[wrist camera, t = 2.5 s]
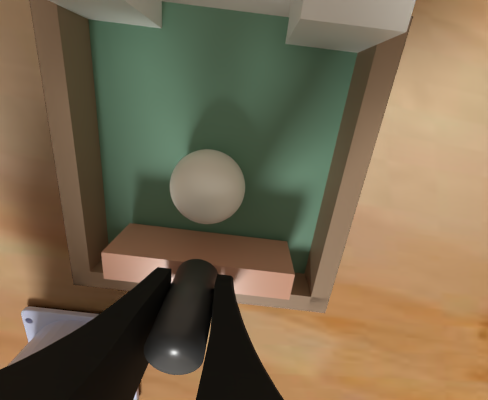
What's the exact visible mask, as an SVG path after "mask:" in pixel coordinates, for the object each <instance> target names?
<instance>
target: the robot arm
mask: <svg viewBox="0 0 488 400" xmlns="http://www.w3.org/2000/svg"><path fill="white" fill-rule="evenodd" d="M171 270H172V269H169V268H161V267H157V268H156V269H155V270H153V271H152V272H151V273H150V274H149V275H148V276H147V277H145V278H144V279H143V280H142V281H141V282H140V283H139V284H137V285H136V286H135V287H134V288H133V289H131V290H130V291H129V292H128V293H127V294H125V295H124V296H123V297H122V298H120V299H119V300H118V301H117V302H115V303H114V304H113V305H111V306H110V307H109V308H107V309H106V310H105V311H103V312H102V313H101V314H94V313H85V312H76V311H67V310H58V309H49V308H40V307H31V306H29V307H26V308H25V309H24V310H22V312H21V315H22V319H23V323H24V327H25V331H26V334H27V338H28V342H29V343H28V344H27V345H26V346H25V347H24V348H23V349H22V350H21V352H20V353H19V354H18V355H17V356H16V357H15V358H14V359H13V360H12V361H11V362H10V364H9V365H8V366H7V367H5V368H3V369H0V400H139V389H138V386H139V384H140V381H141V379H142V377H143V374H144V372H145V370H146V368H147V365H148V363H149V362H148V361H147V360H146V358H145V355H144V345H145V343H146V340H147V338H148V336H149V333H150V331H151V329H152V327H153V324H154V322H155V320H156V318H157V315H158V313H159V311H160V308H161V306H162V304H163V302H164V299H165V297H166V295H167V292H168V290H169V288H170V286H171ZM196 400H284V399H283V398H282V396H281V395H280V393H279V392H278V390H277V389H276V387H275V385H274V384H273V382H272V380H271V378H270V377H269V375H268V373H267V372H266V370H265V368H264V367H263V365H262V363H261V361H260V359H259V357H258V355H257V353H256V351H255V349H254V347H253V345H252V342H251V340H250V338H249V335H248V333H247V331H246V328H245V325H244V323H243V320H242V317H241V314H240V311H239V307H238V304H237V300H236V296H235V291H234V283H233V277H232V276H230V275H221V274H217V277H216V281H215V286H214V297H213V308H212V319H211V331H210V337H209V342H208V347H207V352H206V356H205V361H204V366H203V370H202V375H201V379H200V384H199V388H198V393H197V397H196Z"/></svg>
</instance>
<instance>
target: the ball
mask: <svg viewBox="0 0 488 400" xmlns="http://www.w3.org/2000/svg"><path fill="white" fill-rule="evenodd" d="M170 194H171V198H172V201H173V203H174V205H175V206H176V208H177V209H178V210H179V212H180V213H181V214H182V215H183V216H185V217H186V218H188V219H189V220H191V221H194V222H197V223H201V224H215V223H219V222H222V221H224V220H226V219H227V218H229V217H231V216H232V215H233V214H234V213H235V212H236V211H237V210H238V208H239V207H240V205H241V203H242V201H243V198H244V194H245V180H244V176H243V173H242V171H241V169H240V167H239V166H238V164H237V163H236V162H235V161H234V160H233V159H232V158H231V157H230V156H228V155H226V154H225V153H223V152H220V151H217V150H211V149H203V150H197V151H194V152H192V153H190V154H188V155H186V156H185V157H184V158H182V159H181V160H180V161H179V163H178V164H177V165H176V166H175V168H174V170H173V172H172V175H171V179H170Z"/></svg>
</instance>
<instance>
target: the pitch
mask: <svg viewBox="0 0 488 400" xmlns="http://www.w3.org/2000/svg"><path fill="white" fill-rule="evenodd" d="M29 1H30V8H31V14H32V21H33V27H34V33H35V40H36V46H37V52H38V59H39V65H40V72H41V78H42V84H43V91H44V97H45V104H46V110H47V116H48V123H49V129H50V136H51V142H52V148H53V155H54V161H55V168H56V174H57V180H58V187H59V193H60V200H61V206H62V212H63V219H64V225H65V232H66V238H67V244H68V251H69V257H70V264H71V270H72V276H73V283H74V285H82V286H91V287H100V288H109V289H117V290H126V291H130V290H131V289H133V288H134V287H135V286H136V285H137V284H139V283H136V282H127V281H119V280H110V279H104V275H103V265H102V256H101V252H102V251H103V250H104V249H105V248H106V247H107V246H108V245H109V244H110V243H111V242H112V241H113V240H114V239H115V238H116V237H117V236H118V235H119V234H120V233H121V232H122V231H123V230H124V229H125V227H126V226H127V225H128V224H129V223H133V224H142V225H150V226H159V227H167V228H176V229H185V230H193V231H202V232H210V233H219V234H228V235H236V236H245V237H253V238H262V239H271V240H279V241H287V243H288V247H289V251H290V256H291V260H292V264H293V268H294V273H295V277H294V281H293V286H292V290H291V294H290V299H289V300H286V299H277V298H268V297H259V296H250V295H242V294H235V296H236V300H237V303H241V304H250V305H259V306H267V307H276V308H285V309H294V310H303V311H311V312H320V313H325V312H326V309H327V305H328V302H329V298H330V295H331V292H332V288H333V285H334V282H335V278H336V275H337V271H338V268H339V265H340V261H341V258H342V254H343V251H344V248H345V244H346V241H347V238H348V234H349V231H350V227H351V224H352V221H353V217H354V214H355V211H356V207H357V204H358V200H359V197H360V194H361V190H362V187H363V184H364V180H365V177H366V173H367V170H368V167H369V163H370V160H371V157H372V153H373V150H374V146H375V143H376V140H377V136H378V133H379V130H380V126H381V123H382V119H383V116H384V113H385V109H386V106H387V103H388V99H389V96H390V92H391V89H392V86H393V82H394V79H395V75H396V72H397V69H398V65H399V62H400V59H401V55H402V52H403V48H404V45H405V42H406V38H407V35H408V32H409V28H410V25H411V21H412V18H413V16H411V15H412V12H413V8H414V5H415V1H416V0H29ZM203 149H211V150H217V151H220V152H223V153H225V154H226V155H228V156H230V157H231V158H232V159H233V160H234V161H235V162H236V163H237V164H238V166H239V167H240V169H241V171H242V173H243V176H244V180H245V194H244V198H243V201H242V203H241V205H240V207H239V208H238V210H237V211H236V212H235V213H234V214H233V215H232V216H231V217H229V218H227V219H226V220H224V221H222V222H219V223H215V224H201V223H197V222H194V221H191V220H189V219H188V218H186V217H185V216H183V215H182V214H181V213H180V212H179V210H178V209H177V208H176V206H175V205H174V203H173V201H172V198H171V194H170V179H171V175H172V172H173V170H174V168H175V166H176V165H177V164H178V163H179V161H180V160H181V159H182V158H184V157H185V156H186V155H188V154H190V153H192V152H194V151H197V150H203Z"/></svg>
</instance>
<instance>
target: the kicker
mask: <svg viewBox="0 0 488 400" xmlns="http://www.w3.org/2000/svg"><path fill="white" fill-rule="evenodd" d="M101 256H102V265H103V275H104V279H110V280H119V281H127V282H136V283H140V282H141V281H142V280H143V279H144V278H145V277H147V276H148V275H149V274H150V273H151V272H152V271H153V270H155V269H156V268H157V267H161V268H169V269H172V270H171V286H170V288H169V290H168V292H167V295H166V297H165V299H164V302H163V304H162V306H161V308H160V311H159V313H158V315H157V318H156V320H155V322H154V324H153V327H152V329H151V331H150V333H149V336H148V338H147V340H146V343H145V345H144V355H145V358H146V360H147V361H148V362H149V363H150V364H151V365H152V366H153V367H154V368H156V369H157V370H159V371H161V372H164V373H168V374H173V375H183V374H188V373H191V372H193V371H195V370H196V369H198V368H199V367H200V366H201V364H202V362H203V359H204V354H205V349H206V344H207V338H208V333H209V328H210V323H211V317H212V308H213V297H214V286H215V281H216V277H217V274H221V275H230V276H232V277H233V283H234V291H235V294H242V295H250V296H259V297H268V298H277V299H286V300H289V299H290V294H291V290H292V286H293V281H294V277H295V273H294V268H293V264H292V260H291V256H290V251H289V247H288V243H287V241H279V240H271V239H262V238H253V237H245V236H236V235H228V234H219V233H210V232H202V231H193V230H185V229H176V228H167V227H159V226H150V225H142V224H133V223H129V224H128V225H127V226H126V227H125V229H124V230H123V231H122V232H121V233H120V234H119V235H118V236H117V237H116V238H115V239H114V240H113V241H112V242H111V243H110V244H109V245H108V246H107V247H106V248H105V249H104V250H103V251H102V252H101Z"/></svg>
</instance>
